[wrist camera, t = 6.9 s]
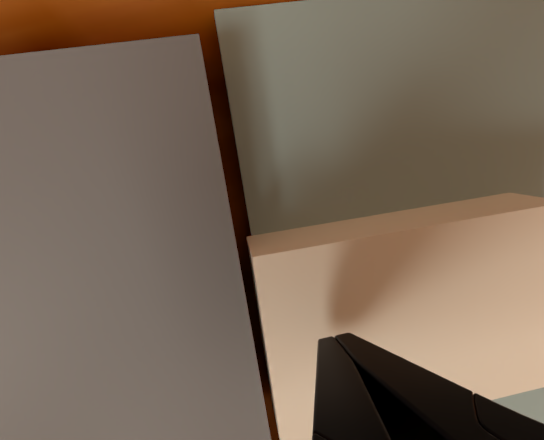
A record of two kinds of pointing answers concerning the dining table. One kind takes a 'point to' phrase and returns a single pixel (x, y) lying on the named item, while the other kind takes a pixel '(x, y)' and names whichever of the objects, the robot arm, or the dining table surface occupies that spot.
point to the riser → (119, 252)
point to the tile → (406, 296)
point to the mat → (384, 109)
